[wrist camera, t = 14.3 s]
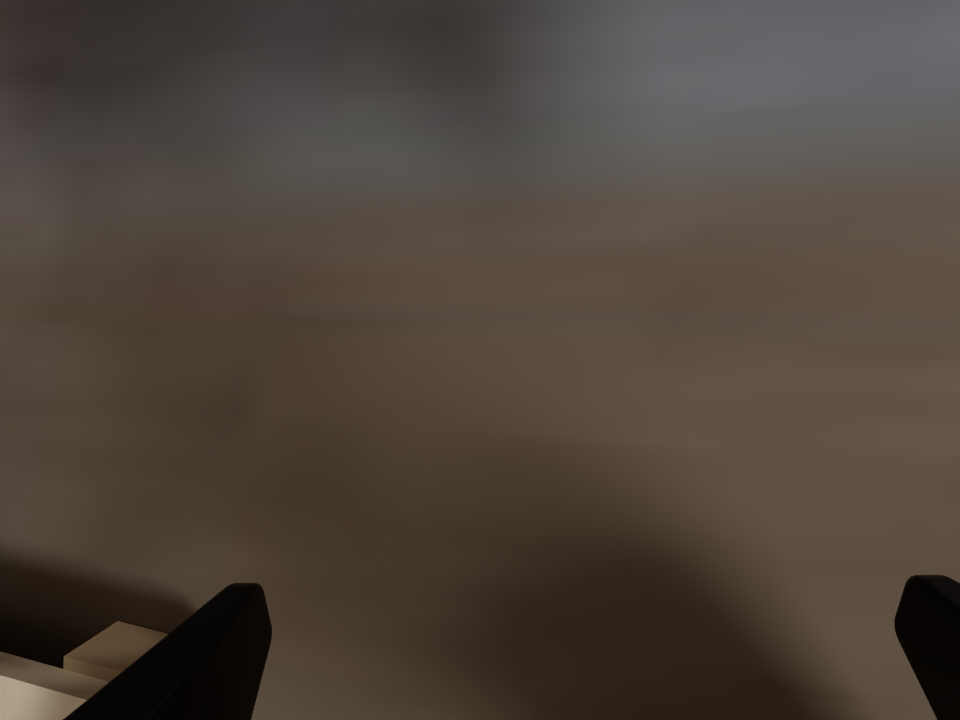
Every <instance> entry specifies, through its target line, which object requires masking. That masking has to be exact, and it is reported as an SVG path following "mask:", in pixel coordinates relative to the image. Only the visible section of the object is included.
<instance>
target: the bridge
mask: <svg viewBox="0 0 960 720" xmlns="http://www.w3.org/2000/svg"><path fill="white" fill-rule="evenodd" d="M166 635H168V634H167V633H163V632H159V631H155V630H151V629H147V628H144V627H140V626H136V625H132V624H128V623H124V622H120V621H117V622H116V623H114V624H112V625H111V626H109V627H108V628H106V629H105V630H103V631H102V632H100V633H99V634H97V635H96V636H94V637H93V638H91V639H90V640H88V641H86V642H85V643H83V644H82V645H80V646H79V647H77V648H76V649H74V650H73V651H71V652H70V653H68V654H67V655H65V656H64V663H63V669H61V668H58V667H54V666H51V665H47V664H43V663H40V662H36V661H33V660H29V659H25V658H22V657H18V656H15V655H11V654H8V653H4V652H0V720H63V719H64V718H66V717H67V716H68V715H69V714H70V713H72V712H73V711H74V710H75V709H77V708H78V707H79V706H80V705H82V704H83V703H84V702H85V701H86V700H88V699H89V698H90V697H91V696H93V695H94V694H95V693H96V692H98V691H99V690H100V689H101V688H102V687H104V686H105V685H106V684H107V683H109V682H110V681H111V680H112V679H114V678H115V677H116V676H117V675H118V674H120V673H121V672H122V671H123V670H125V669H126V668H127V667H128V666H130V665H131V664H132V663H133V662H134V661H136V660H137V659H138V658H139V657H141V656H142V655H143V654H144V653H146V652H147V651H148V650H149V649H150V648H152V647H153V646H154V645H155V644H157V643H158V642H159V641H160V640H162V639H163V638H164V637H165V636H166Z"/></svg>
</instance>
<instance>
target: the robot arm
mask: <svg viewBox="0 0 960 720" xmlns="http://www.w3.org/2000/svg"><path fill="white" fill-rule="evenodd" d="M895 631H896V635H897V638H898V640H899V642H900V644H901V646H902V648H903V650H904V652H905V654H906V656H907V659H908V661H909V663H910V665H911V667H912V669H913V671H914V673H915V675H916V677H917V679H918V681H919V683H920V685H921V687H922V689H923V691H924V693H925V695H926V697H927V699H928V701H929V704H930V706H931V708H932V710H933V712H934V714H935V716H936V718H937V720H960V583H958V582H956V581H955V580H953V579H951V578H949V577H947V576H943V575H914V576H911V577H910V578H909V579H908V580H907V582H906V584H905V587H904V590H903V594H902V597H901V600H900V603H899V606H898V610H897V613H896V616H895ZM271 637H272V626H271V621H270V617H269V612H268V608H267V604H266V599H265V595H264V591H263V588H262V587H261V585H259V584H257V583H234V584H231V585H229V586H227V587H226V588H224V589H223V590H222V591H221V592H219V593H218V594H217V595H216V596H214V597H213V598H212V599H211V600H210V601H208V602H207V603H206V604H205V605H203V606H202V607H201V608H200V609H198V610H197V611H196V612H195V613H194V614H192V615H191V616H190V617H189V618H187V619H186V620H185V621H184V622H182V623H181V624H180V625H179V626H178V627H176V628H175V629H174V630H173V631H171V632H170V633H169V634H168V635H166V636H165V637H164V638H163V639H162V640H160V641H159V642H158V643H157V644H155V645H154V646H153V647H152V648H150V649H149V650H148V651H147V652H146V653H144V654H143V655H142V656H141V657H139V658H138V659H137V660H136V661H134V662H133V663H132V664H131V665H130V666H128V667H127V668H126V669H125V670H123V671H122V672H121V673H120V674H118V675H117V676H116V677H115V678H114V679H112V680H111V681H110V682H109V683H107V684H106V685H105V686H104V687H102V688H101V689H100V690H99V691H98V692H96V693H95V694H94V695H93V696H91V697H90V698H89V699H88V700H86V701H85V702H84V703H83V704H82V705H80V706H79V707H78V708H77V709H75V710H74V711H73V712H72V713H70V714H69V715H68V716H67V717H66V718H64V719H63V720H251V718H252V714H253V710H254V706H255V702H256V698H257V694H258V690H259V686H260V682H261V679H262V675H263V671H264V667H265V663H266V659H267V655H268V651H269V647H270V643H271Z"/></svg>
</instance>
